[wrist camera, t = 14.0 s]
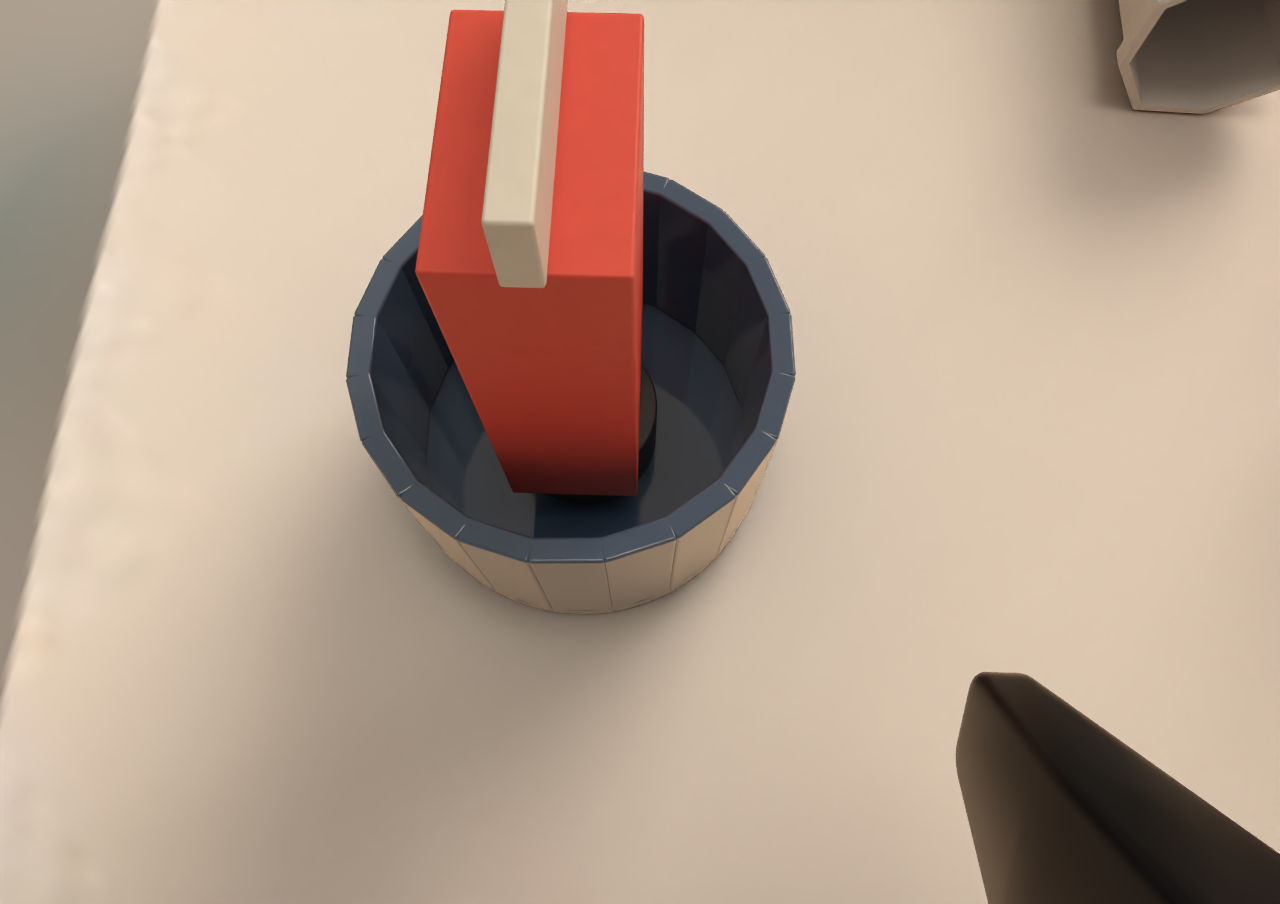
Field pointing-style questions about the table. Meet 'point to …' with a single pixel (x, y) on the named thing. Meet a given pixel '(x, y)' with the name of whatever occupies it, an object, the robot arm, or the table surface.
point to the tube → (1198, 53)
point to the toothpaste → (544, 242)
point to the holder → (685, 433)
